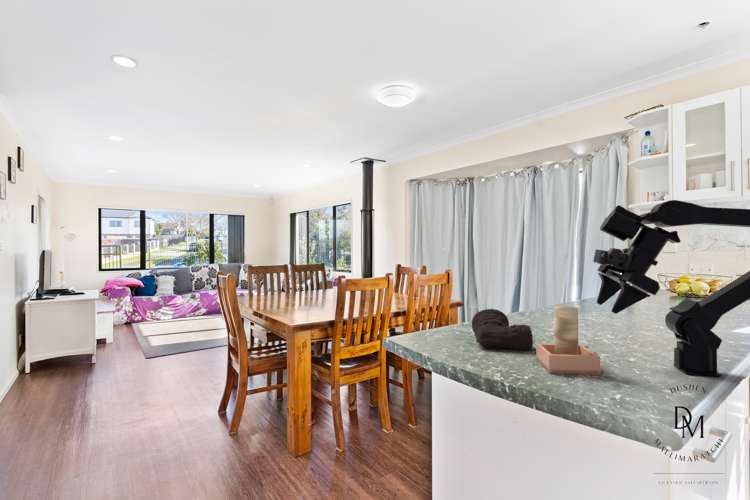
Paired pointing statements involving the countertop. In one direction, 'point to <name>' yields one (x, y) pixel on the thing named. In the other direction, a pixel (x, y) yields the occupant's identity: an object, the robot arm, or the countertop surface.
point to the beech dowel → (566, 330)
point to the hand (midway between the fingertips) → (605, 308)
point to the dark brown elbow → (500, 331)
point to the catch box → (568, 361)
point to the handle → (587, 347)
